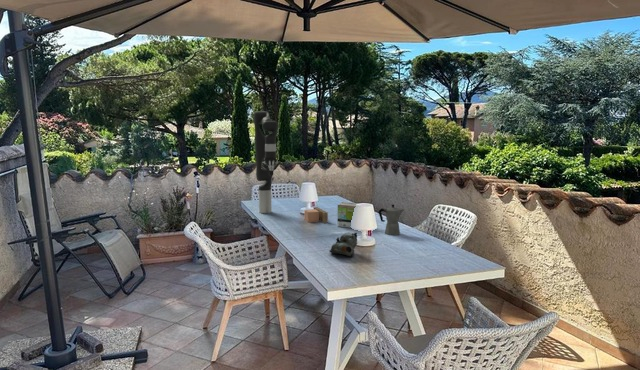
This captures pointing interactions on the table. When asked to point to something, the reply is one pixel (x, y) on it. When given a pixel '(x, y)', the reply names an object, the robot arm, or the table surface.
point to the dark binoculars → (345, 244)
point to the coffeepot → (391, 220)
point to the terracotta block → (311, 215)
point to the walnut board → (322, 215)
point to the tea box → (345, 214)
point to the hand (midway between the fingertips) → (271, 176)
